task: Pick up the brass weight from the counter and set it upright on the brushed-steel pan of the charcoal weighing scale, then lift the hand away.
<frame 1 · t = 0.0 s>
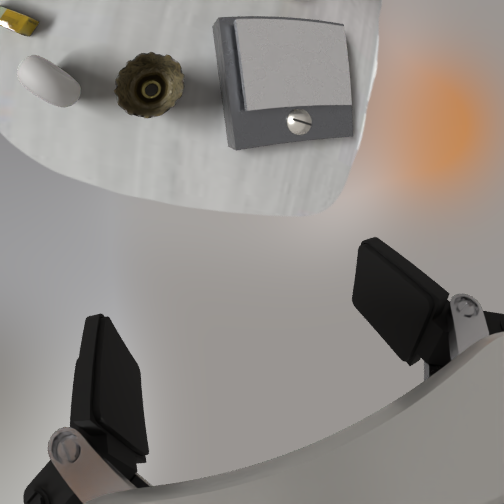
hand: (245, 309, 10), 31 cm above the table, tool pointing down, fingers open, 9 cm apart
grey rounded slab: (62, 83, 25), on the table
scale pan: (298, 62, 28), point 6 cm above the table, slide at -0.5 cm
medication box: (13, 21, 15), on the table
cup: (151, 89, 30), on the table
scale: (282, 79, 34), on the table
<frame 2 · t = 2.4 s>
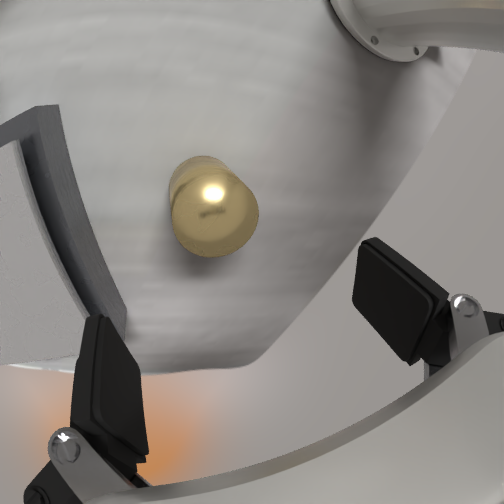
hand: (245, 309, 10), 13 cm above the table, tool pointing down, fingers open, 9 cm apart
brass weight: (201, 187, 20), on the table
scale: (6, 248, 16), on the table
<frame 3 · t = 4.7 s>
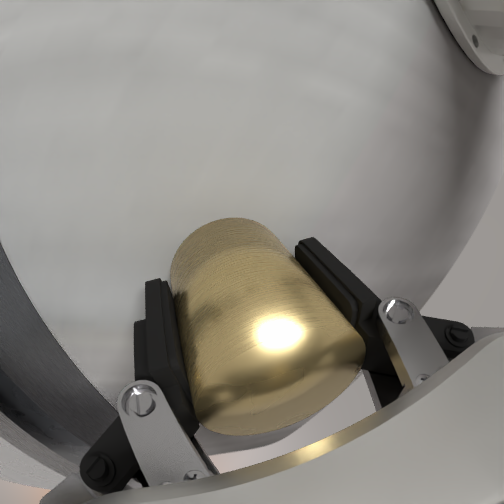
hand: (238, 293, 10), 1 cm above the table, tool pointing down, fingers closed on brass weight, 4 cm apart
brass weight: (228, 272, 12), on the table, touching gripper
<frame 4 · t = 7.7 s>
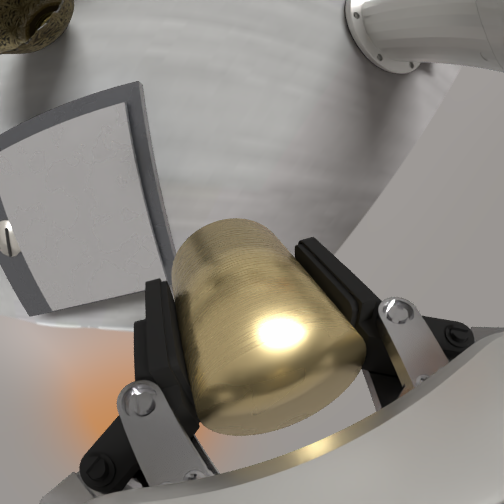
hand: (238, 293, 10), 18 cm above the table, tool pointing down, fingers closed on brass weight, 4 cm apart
scale pan: (74, 220, 18), point 6 cm above the table, slide at -0.5 cm
brass weight: (229, 273, 12), point 16 cm above the table, touching gripper
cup: (53, 27, 13), on the table
scale: (72, 202, 22), on the table
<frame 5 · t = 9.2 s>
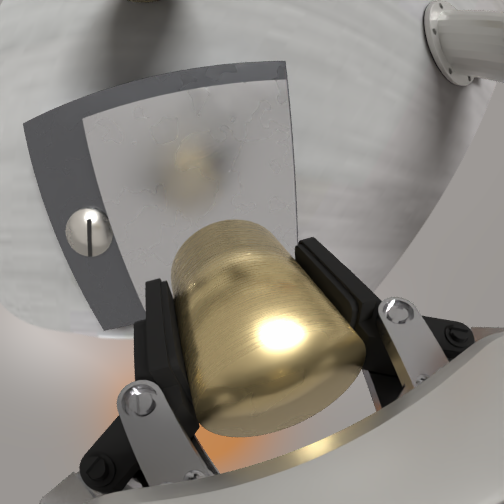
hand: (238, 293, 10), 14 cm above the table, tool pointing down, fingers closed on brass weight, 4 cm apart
scale pan: (204, 208, 17), point 6 cm above the table, slide at -0.5 cm
brass weight: (229, 274, 12), point 13 cm above the table, touching gripper
scale: (170, 191, 22), on the table
when the fingers open (9 cm above the table, at t = 10.8 s): brass weight drops 2 cm, resting on scale pan.
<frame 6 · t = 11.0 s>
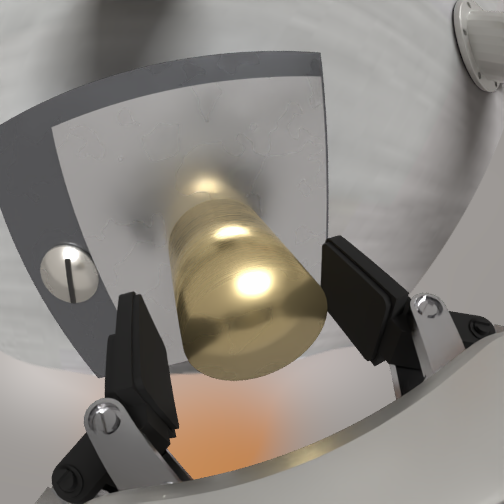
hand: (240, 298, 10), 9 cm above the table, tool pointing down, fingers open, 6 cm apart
scale pan: (214, 242, 14), point 5 cm above the table, slide at -1.1 cm, touching brass weight
brass weight: (218, 246, 13), point 5 cm above the table, touching scale pan
scale: (170, 216, 17), on the table
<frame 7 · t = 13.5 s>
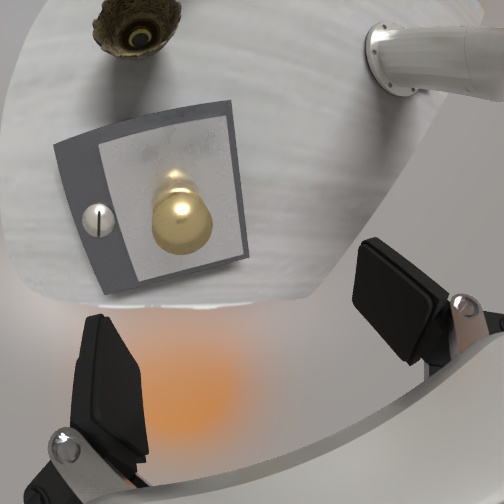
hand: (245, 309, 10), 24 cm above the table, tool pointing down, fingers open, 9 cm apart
scale pan: (175, 201, 26), point 5 cm above the table, slide at -1.1 cm, touching brass weight
brass weight: (176, 203, 26), point 5 cm above the table, touching scale pan
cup: (140, 40, 21), on the table
scale: (155, 193, 30), on the table
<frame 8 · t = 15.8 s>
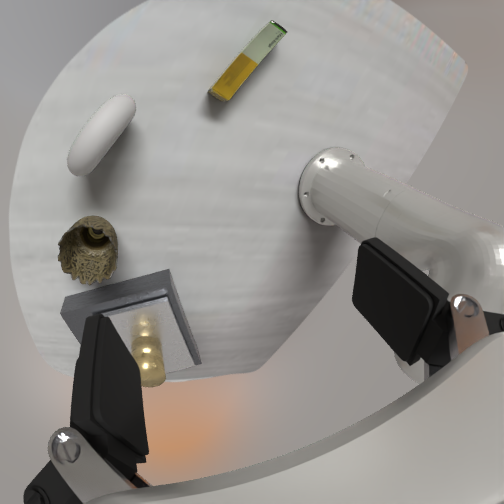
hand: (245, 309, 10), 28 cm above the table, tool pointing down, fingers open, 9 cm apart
grey rounded slab: (109, 131, 28), on the table
scale pan: (145, 344, 39), point 5 cm above the table, slide at -1.1 cm, touching brass weight
brass weight: (146, 346, 39), point 5 cm above the table, touching scale pan
medication box: (241, 62, 29), on the table
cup: (98, 228, 34), on the table
scale: (134, 326, 43), on the table
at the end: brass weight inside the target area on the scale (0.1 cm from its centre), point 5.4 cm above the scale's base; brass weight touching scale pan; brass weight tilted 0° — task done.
